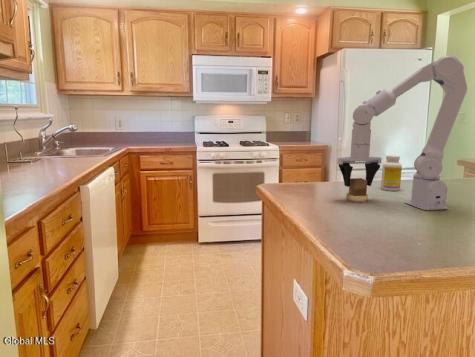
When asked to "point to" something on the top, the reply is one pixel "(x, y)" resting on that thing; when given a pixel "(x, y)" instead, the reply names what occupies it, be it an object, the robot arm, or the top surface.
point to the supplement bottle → (391, 173)
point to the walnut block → (358, 187)
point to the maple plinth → (356, 198)
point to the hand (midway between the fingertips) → (357, 185)
